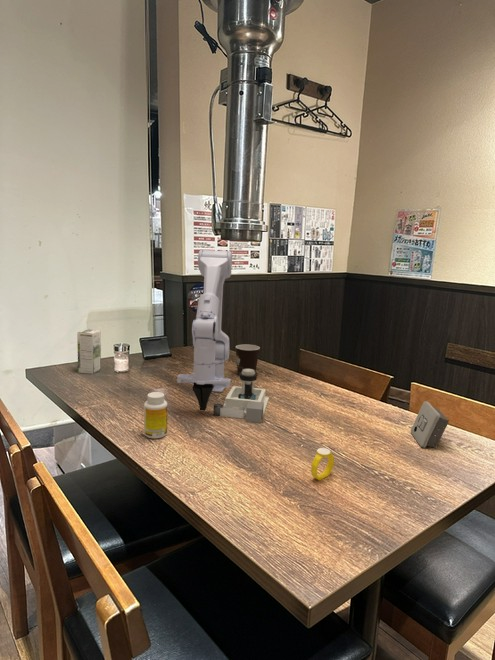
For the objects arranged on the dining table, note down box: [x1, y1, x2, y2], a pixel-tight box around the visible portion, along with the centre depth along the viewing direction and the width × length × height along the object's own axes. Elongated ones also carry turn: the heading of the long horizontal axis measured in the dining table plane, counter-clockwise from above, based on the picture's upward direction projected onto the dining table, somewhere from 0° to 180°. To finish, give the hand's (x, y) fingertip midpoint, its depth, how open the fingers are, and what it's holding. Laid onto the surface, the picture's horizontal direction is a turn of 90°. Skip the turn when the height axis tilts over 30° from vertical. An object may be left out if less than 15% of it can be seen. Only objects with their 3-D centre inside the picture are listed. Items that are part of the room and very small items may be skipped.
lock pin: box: [212, 403, 246, 420], centre depth 119 cm, size 8×3×3 cm, turn 80°
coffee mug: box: [235, 343, 261, 377], centre depth 157 cm, size 12×9×10 cm
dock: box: [223, 385, 270, 424], centre depth 125 cm, size 12×19×4 cm, turn 171°
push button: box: [238, 369, 259, 400], centre depth 126 cm, size 7×5×10 cm
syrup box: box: [76, 328, 102, 375], centre depth 150 cm, size 6×6×14 cm
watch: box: [310, 447, 335, 481], centre depth 89 cm, size 6×3×6 cm, turn 132°
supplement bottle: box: [143, 391, 168, 439], centre depth 105 cm, size 6×6×10 cm
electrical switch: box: [410, 400, 450, 449], centre depth 108 cm, size 9×5×9 cm, turn 176°
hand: (203, 409), depth 120 cm, fingers closed
